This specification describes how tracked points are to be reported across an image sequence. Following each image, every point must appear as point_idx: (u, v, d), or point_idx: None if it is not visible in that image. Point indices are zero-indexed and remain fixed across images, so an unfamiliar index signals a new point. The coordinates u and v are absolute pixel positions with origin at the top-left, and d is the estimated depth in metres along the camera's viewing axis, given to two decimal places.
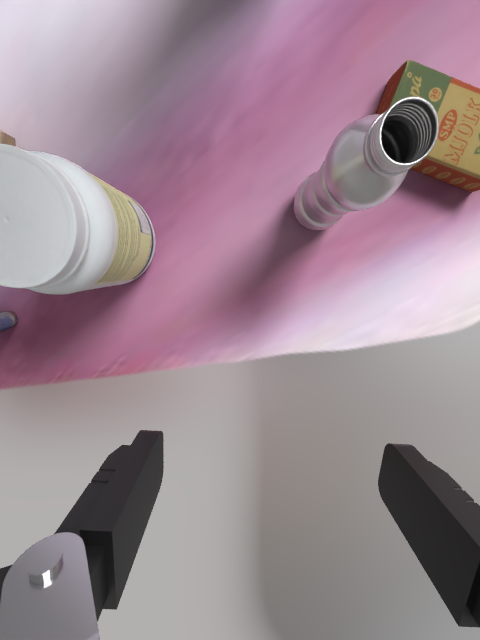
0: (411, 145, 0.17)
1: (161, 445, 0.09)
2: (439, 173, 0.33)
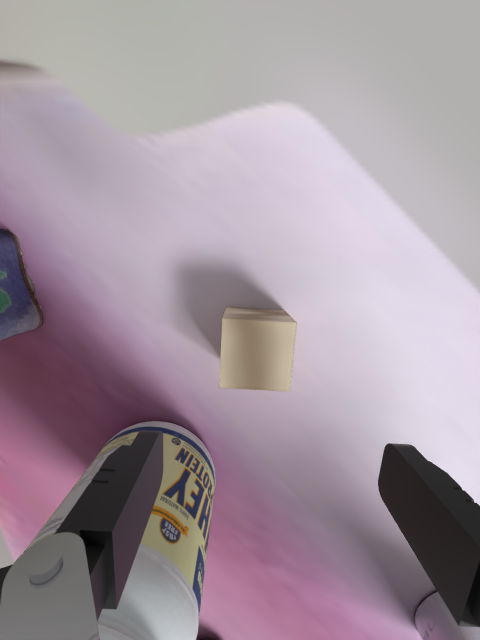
0: None
1: (161, 445, 0.09)
2: None
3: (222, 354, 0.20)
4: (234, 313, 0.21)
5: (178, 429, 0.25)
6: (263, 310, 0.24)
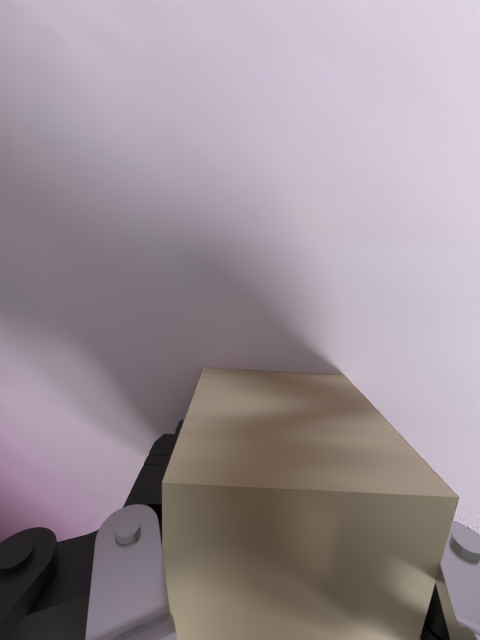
0: None
1: None
2: None
3: (169, 597, 0.05)
4: (218, 415, 0.07)
5: None
6: (296, 381, 0.09)
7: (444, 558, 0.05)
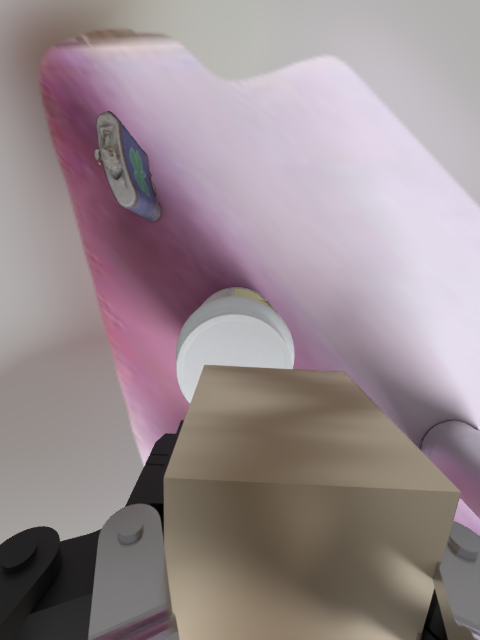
0: None
1: None
2: None
3: (171, 593, 0.05)
4: (219, 411, 0.07)
5: (254, 291, 0.37)
6: (296, 379, 0.09)
7: None
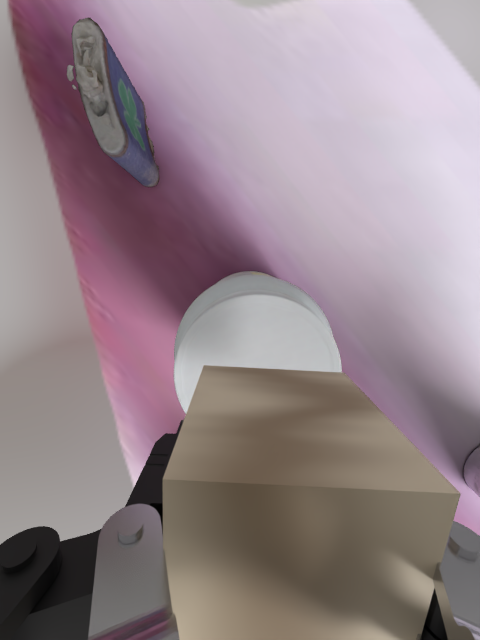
0: None
1: None
2: None
3: (170, 594, 0.05)
4: (218, 412, 0.07)
5: (272, 276, 0.30)
6: (296, 380, 0.09)
7: None
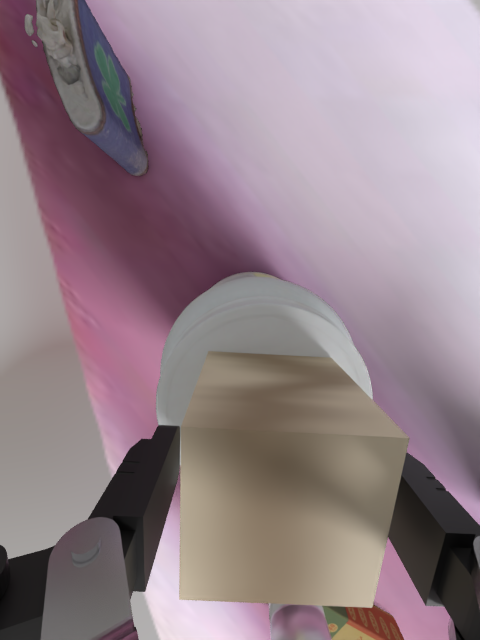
0: None
1: (178, 439, 0.09)
2: None
3: (185, 521, 0.07)
4: (222, 385, 0.08)
5: (277, 278, 0.26)
6: (288, 362, 0.11)
7: None
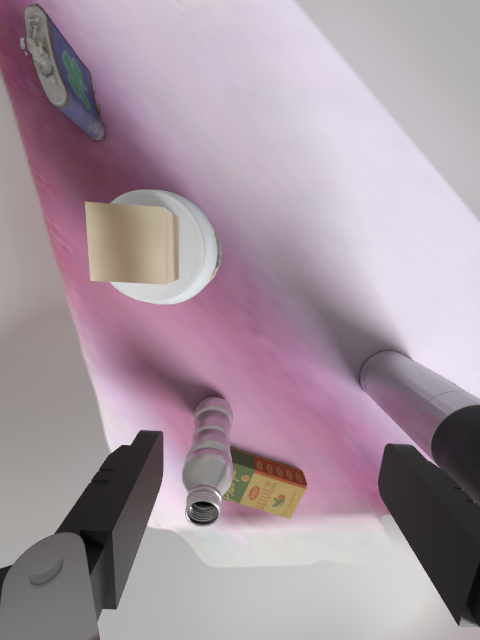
0: (206, 506, 0.30)
1: (161, 445, 0.09)
2: None
3: (89, 243, 0.19)
4: None
5: None
6: None
7: None
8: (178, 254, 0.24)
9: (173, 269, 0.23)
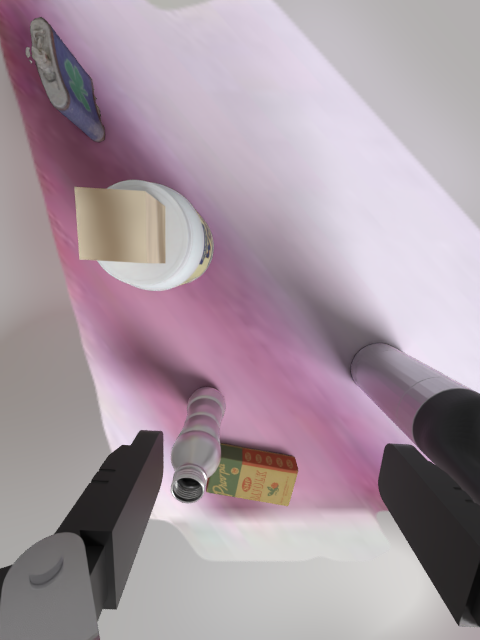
0: (192, 485, 0.31)
1: (161, 445, 0.09)
2: None
3: (78, 224, 0.21)
4: None
5: None
6: None
7: None
8: (164, 240, 0.26)
9: (158, 252, 0.24)
